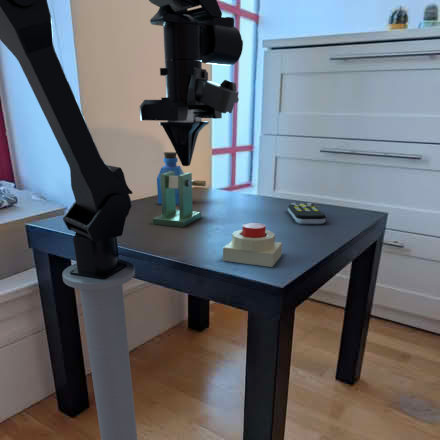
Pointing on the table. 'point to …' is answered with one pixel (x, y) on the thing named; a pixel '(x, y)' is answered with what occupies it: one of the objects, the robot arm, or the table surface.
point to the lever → (174, 182)
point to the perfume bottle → (169, 166)
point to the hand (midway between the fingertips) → (186, 165)
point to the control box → (253, 249)
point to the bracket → (169, 206)
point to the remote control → (306, 213)
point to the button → (253, 230)
